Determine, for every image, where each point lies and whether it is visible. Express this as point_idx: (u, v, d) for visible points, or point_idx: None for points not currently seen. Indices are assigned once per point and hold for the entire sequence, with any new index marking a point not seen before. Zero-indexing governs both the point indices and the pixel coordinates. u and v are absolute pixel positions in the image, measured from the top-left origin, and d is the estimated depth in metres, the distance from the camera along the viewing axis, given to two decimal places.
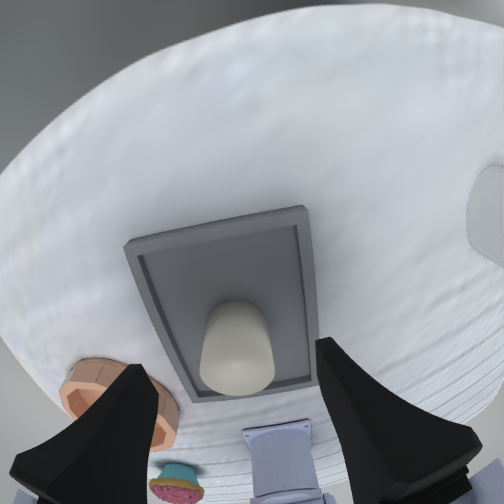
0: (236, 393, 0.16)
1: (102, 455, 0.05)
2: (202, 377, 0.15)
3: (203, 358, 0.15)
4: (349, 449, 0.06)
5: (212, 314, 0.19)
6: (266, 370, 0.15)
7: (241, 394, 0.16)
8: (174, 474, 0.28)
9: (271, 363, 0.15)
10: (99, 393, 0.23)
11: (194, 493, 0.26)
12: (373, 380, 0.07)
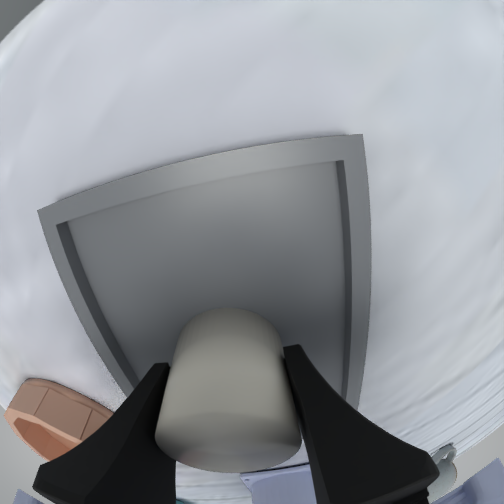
0: (228, 470, 0.07)
1: (135, 460, 0.05)
2: (163, 449, 0.07)
3: (159, 423, 0.06)
4: (310, 459, 0.06)
5: (185, 332, 0.10)
6: (286, 443, 0.07)
7: (237, 471, 0.08)
8: None
9: (296, 434, 0.07)
10: None
11: None
12: (333, 392, 0.07)
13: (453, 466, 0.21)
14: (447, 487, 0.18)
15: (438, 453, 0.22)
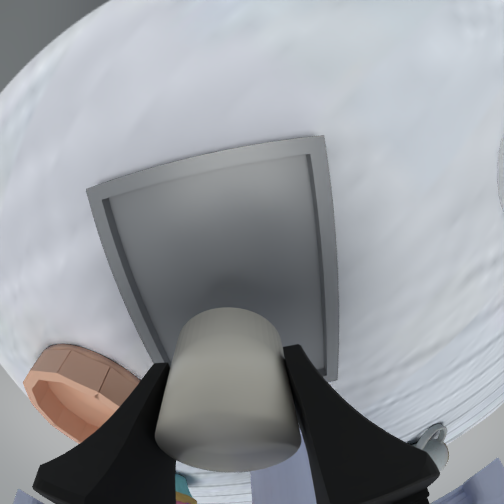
0: (228, 470, 0.08)
1: (135, 460, 0.05)
2: (163, 448, 0.07)
3: (159, 422, 0.06)
4: (310, 459, 0.06)
5: (185, 332, 0.10)
6: (285, 442, 0.07)
7: (237, 470, 0.08)
8: None
9: (296, 433, 0.07)
10: (70, 388, 0.18)
11: None
12: (333, 392, 0.07)
13: (444, 446, 0.25)
14: (439, 467, 0.22)
15: (428, 431, 0.26)
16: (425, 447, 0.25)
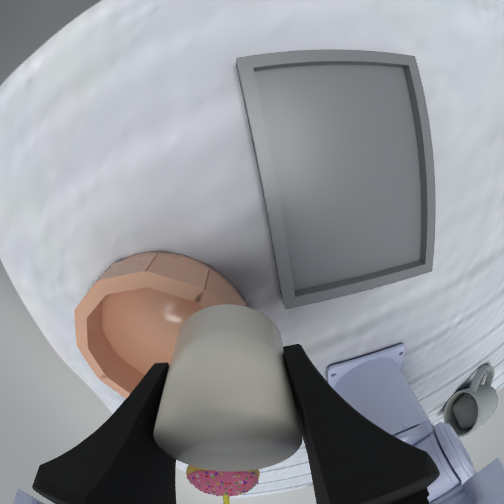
0: (226, 469, 0.07)
1: (135, 460, 0.05)
2: (161, 446, 0.07)
3: (158, 419, 0.06)
4: (310, 459, 0.06)
5: (185, 328, 0.10)
6: (286, 442, 0.07)
7: (235, 469, 0.08)
8: None
9: (297, 432, 0.07)
10: (135, 319, 0.19)
11: (250, 476, 0.22)
12: (333, 392, 0.07)
13: (493, 389, 0.25)
14: (492, 409, 0.22)
15: (480, 370, 0.26)
16: (478, 388, 0.25)
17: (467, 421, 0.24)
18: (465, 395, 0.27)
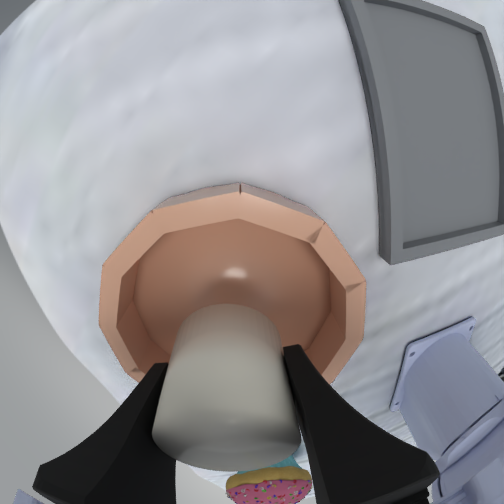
0: (224, 468, 0.07)
1: (135, 460, 0.05)
2: (159, 445, 0.07)
3: (157, 418, 0.06)
4: (310, 459, 0.06)
5: (185, 327, 0.10)
6: (285, 442, 0.07)
7: (233, 469, 0.08)
8: None
9: (296, 433, 0.07)
10: (189, 285, 0.14)
11: (305, 484, 0.17)
12: (333, 392, 0.07)
13: None
14: None
15: None
16: None
17: None
18: None
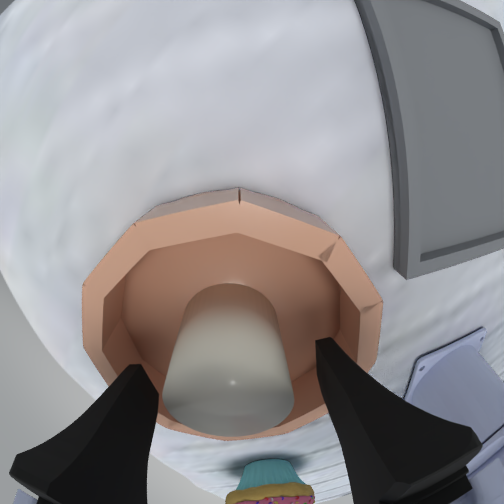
0: (225, 433, 0.09)
1: (102, 455, 0.05)
2: (168, 407, 0.08)
3: (168, 377, 0.08)
4: (349, 449, 0.06)
5: (192, 303, 0.12)
6: (280, 401, 0.08)
7: (234, 435, 0.09)
8: (272, 476, 0.18)
9: (290, 391, 0.08)
10: (182, 303, 0.12)
11: (308, 500, 0.16)
12: (373, 380, 0.07)
13: None
14: None
15: None
16: None
17: None
18: None
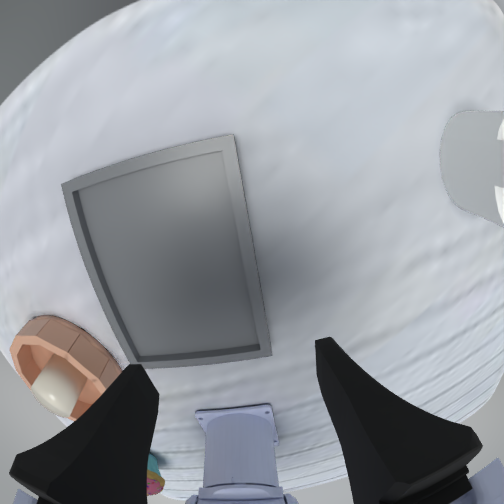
0: (57, 414, 0.17)
1: (102, 455, 0.05)
2: None
3: None
4: (349, 449, 0.06)
5: (49, 359, 0.20)
6: (62, 405, 0.17)
7: (61, 416, 0.18)
8: None
9: (62, 402, 0.17)
10: (49, 357, 0.21)
11: (151, 482, 0.24)
12: (373, 380, 0.07)
13: None
14: None
15: None
16: None
17: None
18: None
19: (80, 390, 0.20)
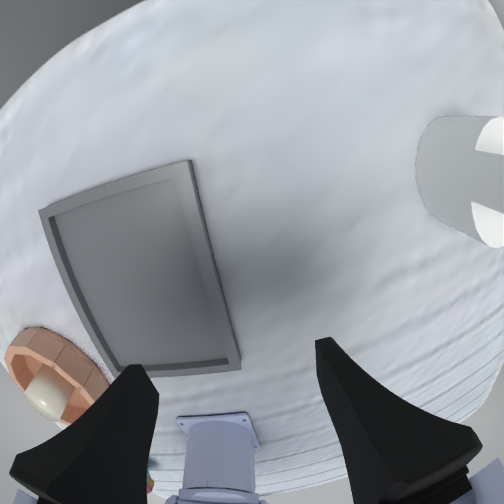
0: (48, 418, 0.18)
1: (102, 455, 0.05)
2: (28, 403, 0.17)
3: (24, 393, 0.17)
4: (349, 449, 0.06)
5: (40, 367, 0.20)
6: (52, 410, 0.17)
7: (52, 420, 0.18)
8: None
9: (52, 408, 0.17)
10: (41, 365, 0.21)
11: None
12: (373, 380, 0.07)
13: None
14: None
15: None
16: None
17: None
18: None
19: (69, 396, 0.20)
